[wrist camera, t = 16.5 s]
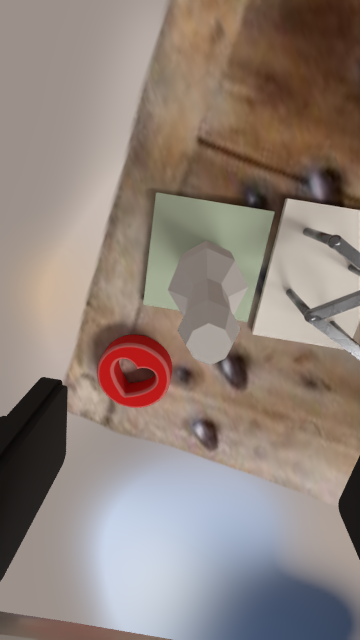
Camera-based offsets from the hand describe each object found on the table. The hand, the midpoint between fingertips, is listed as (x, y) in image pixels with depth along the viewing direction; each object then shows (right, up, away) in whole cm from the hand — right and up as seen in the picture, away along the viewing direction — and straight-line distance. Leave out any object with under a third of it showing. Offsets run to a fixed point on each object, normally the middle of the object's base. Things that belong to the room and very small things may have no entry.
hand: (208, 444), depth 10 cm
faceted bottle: (+2, +11, +27) cm, 30 cm away
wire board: (+15, +9, +28) cm, 33 cm away
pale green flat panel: (+2, +11, +28) cm, 30 cm away
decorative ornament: (-7, -2, +35) cm, 35 cm away
